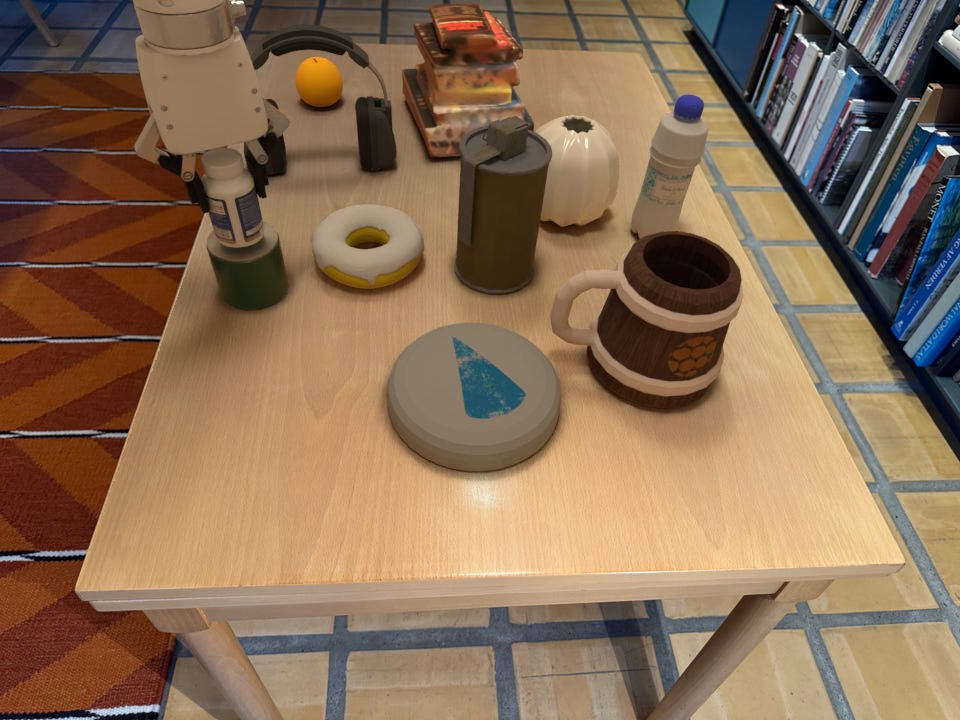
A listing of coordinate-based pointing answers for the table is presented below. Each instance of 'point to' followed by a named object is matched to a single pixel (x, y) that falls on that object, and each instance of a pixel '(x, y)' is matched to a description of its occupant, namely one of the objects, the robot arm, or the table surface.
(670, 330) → the mug
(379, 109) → the headphones
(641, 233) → the bottle
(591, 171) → the vase
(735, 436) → the table surface
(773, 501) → the table surface
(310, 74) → the orange
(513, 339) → the frisbee
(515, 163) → the canister
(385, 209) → the donut
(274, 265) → the tin can
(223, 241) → the pill bottle
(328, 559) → the table surface
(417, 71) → the book
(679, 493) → the table surface
